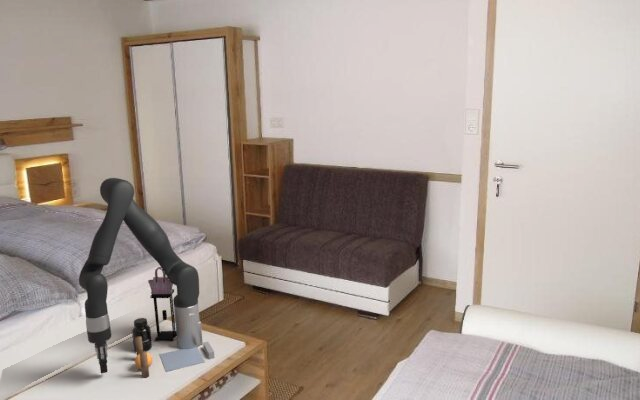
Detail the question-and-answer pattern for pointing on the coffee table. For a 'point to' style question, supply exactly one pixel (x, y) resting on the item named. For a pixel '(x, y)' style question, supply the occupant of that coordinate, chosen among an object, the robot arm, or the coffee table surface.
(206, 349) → the wall
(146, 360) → the post
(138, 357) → the ball
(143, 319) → the supplement bottle
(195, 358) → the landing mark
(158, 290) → the handbag on black stand
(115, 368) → the coffee table surface
